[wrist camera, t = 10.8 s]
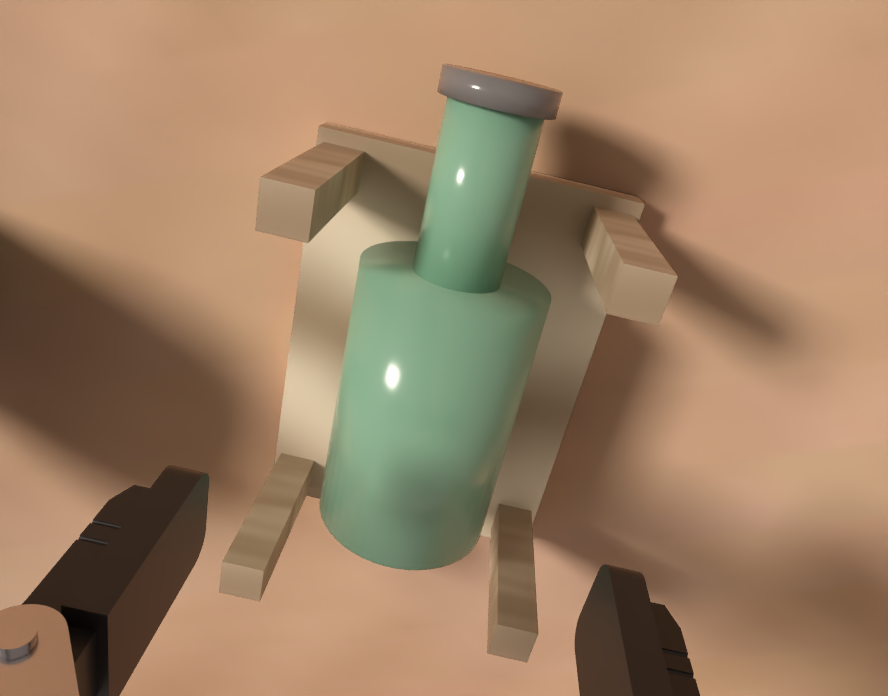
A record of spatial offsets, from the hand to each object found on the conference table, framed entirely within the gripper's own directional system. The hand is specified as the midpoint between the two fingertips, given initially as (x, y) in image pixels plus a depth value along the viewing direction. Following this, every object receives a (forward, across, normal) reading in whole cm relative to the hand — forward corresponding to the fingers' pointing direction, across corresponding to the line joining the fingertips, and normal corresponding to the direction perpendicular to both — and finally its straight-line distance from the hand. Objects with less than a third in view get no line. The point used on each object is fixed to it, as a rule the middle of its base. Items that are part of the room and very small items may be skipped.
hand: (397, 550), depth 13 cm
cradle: (+10, 0, 0) cm, 10 cm away
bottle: (+9, 0, -2) cm, 9 cm away
